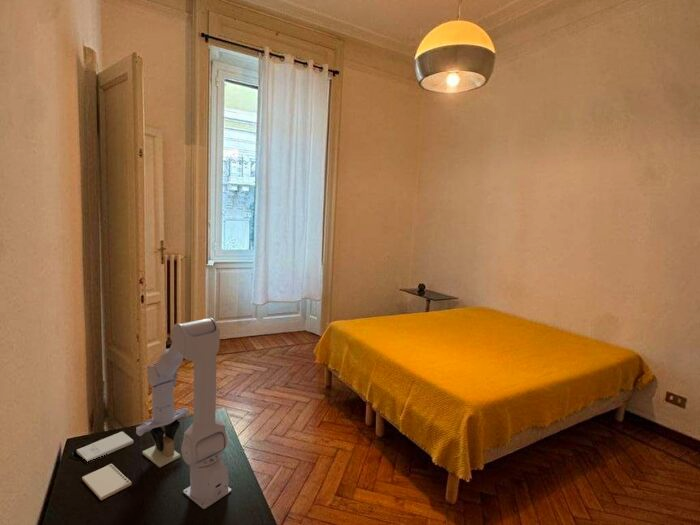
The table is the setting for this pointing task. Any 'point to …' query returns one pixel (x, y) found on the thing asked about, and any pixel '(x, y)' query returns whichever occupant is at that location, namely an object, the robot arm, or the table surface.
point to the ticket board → (106, 481)
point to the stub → (162, 453)
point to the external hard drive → (105, 446)
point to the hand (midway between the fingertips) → (164, 447)
